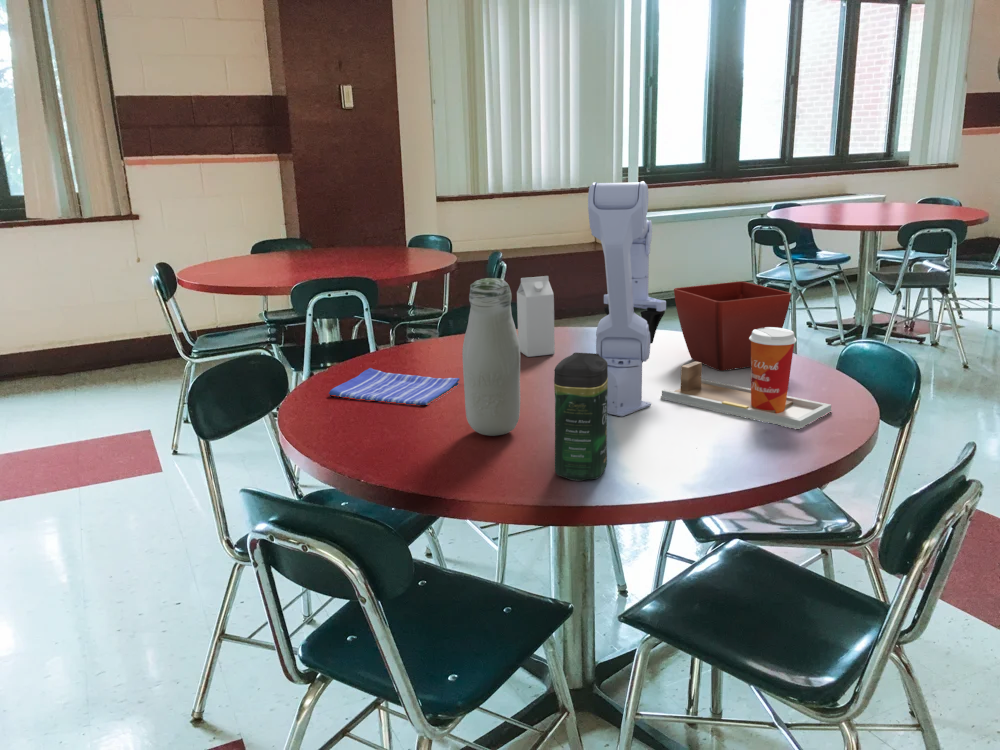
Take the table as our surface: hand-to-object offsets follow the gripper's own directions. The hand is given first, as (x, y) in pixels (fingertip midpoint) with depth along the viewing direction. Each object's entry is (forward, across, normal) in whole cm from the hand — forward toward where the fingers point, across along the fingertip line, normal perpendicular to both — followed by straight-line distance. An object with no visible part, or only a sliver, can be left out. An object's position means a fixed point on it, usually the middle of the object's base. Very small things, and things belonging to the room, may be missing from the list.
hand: (633, 341), depth 170 cm
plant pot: (+10, -6, -28) cm, 30 cm away
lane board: (+9, -25, -2) cm, 27 cm away
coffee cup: (+9, -30, -1) cm, 32 cm away
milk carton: (+10, +35, -7) cm, 37 cm away
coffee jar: (+10, -23, +44) cm, 51 cm away
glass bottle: (+10, 0, +41) cm, 42 cm away
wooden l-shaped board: (+9, -22, -2) cm, 24 cm away
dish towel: (+10, +36, +36) cm, 52 cm away
